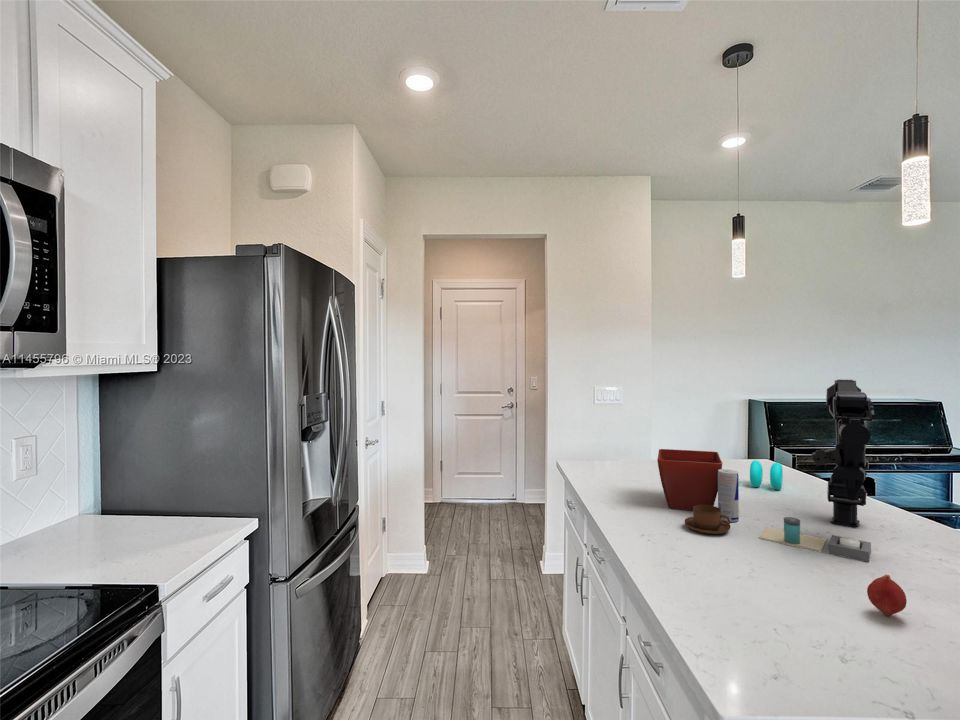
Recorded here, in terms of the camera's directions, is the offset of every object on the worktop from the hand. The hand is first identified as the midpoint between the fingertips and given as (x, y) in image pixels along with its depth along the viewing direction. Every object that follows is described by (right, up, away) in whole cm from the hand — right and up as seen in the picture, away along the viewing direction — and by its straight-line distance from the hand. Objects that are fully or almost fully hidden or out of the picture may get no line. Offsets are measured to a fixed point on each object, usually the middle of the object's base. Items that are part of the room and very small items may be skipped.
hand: (851, 500), depth 126 cm
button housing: (-4, -12, -4) cm, 13 cm away
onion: (-19, -13, -34) cm, 41 cm away
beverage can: (-22, -12, +21) cm, 32 cm away
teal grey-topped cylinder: (-14, -12, +2) cm, 19 cm away
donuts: (+10, -12, +55) cm, 57 cm away
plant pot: (-27, -12, +35) cm, 46 cm away
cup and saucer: (-32, -13, +13) cm, 37 cm away
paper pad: (-13, -12, +5) cm, 18 cm away
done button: (-4, -12, -4) cm, 13 cm away
